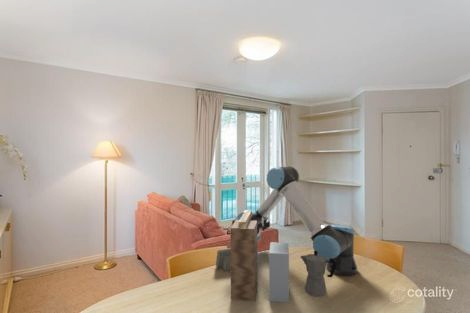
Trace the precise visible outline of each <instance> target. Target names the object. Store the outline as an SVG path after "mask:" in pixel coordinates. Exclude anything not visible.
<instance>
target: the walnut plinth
mask: <svg viewBox="0 0 470 313" xmlns="http://www.w3.org/2000/svg"><path fill="white" fill-rule="evenodd" d="M238 222H239V220H236V221H235V222H234V224H233V225H232V224H231V226H230V248H231V270H230V300H237V301H249V302H256V301H255V300H256V295H257V290H258V284H259V283H258V242H257V221H251V220H250V221H249V223H248V225H247V227H246V229H238Z"/></svg>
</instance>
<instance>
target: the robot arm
mask: <svg viewBox="0 0 470 313" xmlns="http://www.w3.org/2000/svg"><path fill="white" fill-rule="evenodd" d="M299 180H300V173H299V172H298V170H297V169H296V168H295V167H293V166H276V167H273V168H272V167H271V169H269V170H268V172H267V174H266V183H267V185H268V187H269V188H271V189H273V190H272V191H271V192H270V193H269V194H268V196H267V197H266V199H265V200H264V201H263V202H262V204H260V206H259V208H258V209H257V210H256V211H255V212H252V217H251V219H250V220H251V221H257V243H258V242H260V240H262V232H261V231H264V232H265V230H267V229H269V228H270V226H271V224H270V221H267V220H268V216H269V215H270V214H271V213H272V212H273V210H274V209H275V208H276V206H278V205H279V203H280V202H281V201H282V200H283V198H284V199H286V201H287V202H288V204H289V205H290V206H291V208H292V209H293V211H294V212H295V213H296V214H297V216H298V217H299V219H300V220H301V221H302V224H303V225H304V226H305V227H306V229H307V230H308V231H309V232H310V239H311V241H312V248H313V252H314V251H317V252H318V253H317V254H318V255H322V256H324V257H325V258H333V259H334V260H335V261H336V262H337V266H336V269H335V271H334V274H335V275H339V276H345V277H346V276H347V277H349V276H355V275H356V274H357V273H358V266H357V262H356V260H355V256H354V252H355V251H354V248H355V247H354V244H355V243H354V242H355V241H354V239H355V238H354V237H355V236H354V235H355V232H354V229H353V227H352V226H350V225H349V226H348V225H344V224H337V223H335V224H327V223H325V222H324V220H323V219H322V218H321V216H320V215H319V213H318V212H317V211H316V210H315V209H314V207H313V206H312V205H311V203H310V202H309V201H308V200H307V198H306V197H305V195H304V194H303V192H302V191H301V190H300V189H299V187H298V186H297V185H298V183H299ZM244 212H245V210H244V211H241V212H240V213H238V215H237V216H235V219H234V220H232V223H231V226H232V225H233V224H234V222H235V221H236V220H240V218H241V217H242V215H243V214H244ZM332 265H333V263H326V268H325V269H327V271H328V272H330V271H331V269H332ZM334 274H333V275H334Z"/></svg>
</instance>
